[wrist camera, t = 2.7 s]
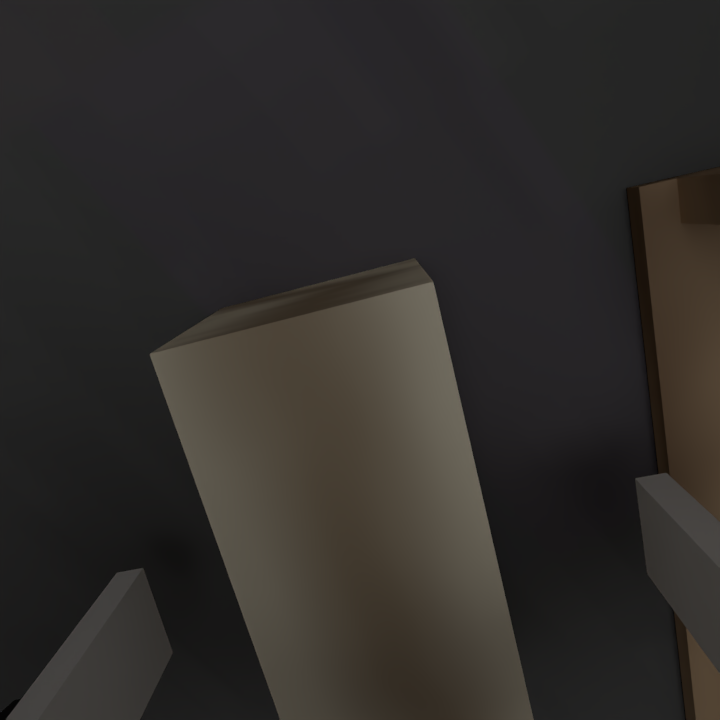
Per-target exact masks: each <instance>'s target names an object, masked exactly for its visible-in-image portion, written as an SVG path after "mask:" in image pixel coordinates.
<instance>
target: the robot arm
mask: <svg viewBox="0 0 720 720" xmlns="http://www.w3.org/2000/svg"><path fill="white" fill-rule="evenodd" d="M635 483H636V491H637V499H638V506H639V514H640V522H641V530H642V538H643V545H644V553H645V561H646V569H647V574H648V576H649V577H650V578H651V580H652V581H653V583H654V584H655V585H656V587H657V588H658V589H659V591H660V592H661V594H662V595H663V596H664V598H665V599H666V600H667V602H668V603H669V605H670V606H671V607H672V609H673V610H674V611H675V613H676V614H677V616H678V617H679V618H680V620H681V621H682V622H683V624H684V625H685V627H686V628H687V629H688V631H689V632H690V633H691V635H692V636H693V638H694V639H695V640H696V642H697V643H698V644H699V646H700V647H701V649H702V650H703V651H704V653H705V654H706V655H707V657H708V658H709V660H710V661H711V662H712V664H713V665H714V666H715V668H716V669H717V671H718V672H719V673H720V522H719V521H718V520H717V519H716V518H715V517H714V516H713V515H712V514H711V513H710V512H708V511H707V510H706V509H705V508H704V507H703V506H702V505H701V504H700V503H699V502H698V501H696V500H695V499H694V498H693V497H692V496H691V495H690V494H689V493H688V492H687V491H686V490H685V489H683V488H682V487H681V486H680V485H679V484H678V483H677V482H676V481H675V480H674V479H673V478H671V477H670V476H669V475H668V474H667V473H662V474H656V475H651V476H645V477H640V478H635ZM172 653H173V652H172V649H171V646H170V643H169V640H168V637H167V634H166V632H165V629H164V626H163V623H162V620H161V617H160V615H159V612H158V609H157V606H156V603H155V600H154V598H153V595H152V592H151V589H150V586H149V583H148V580H147V578H146V575H145V572H144V569H143V568H140V569H134V570H129V571H123V572H118V573H116V574H115V576H114V577H113V578H112V580H111V581H110V582H109V584H108V585H107V586H106V588H105V589H104V590H103V592H102V593H101V594H100V596H99V597H98V598H97V600H96V601H95V602H94V603H93V605H92V606H91V607H90V609H89V610H88V611H87V613H86V614H85V615H84V617H83V618H82V619H81V621H80V622H79V623H78V625H77V626H76V627H75V629H74V630H73V631H72V633H71V634H70V635H69V637H68V638H67V639H66V640H65V642H64V643H63V644H62V646H61V647H60V648H59V650H58V651H57V652H56V654H55V655H54V656H53V658H52V659H51V660H50V662H49V663H48V664H47V666H46V667H45V668H44V670H43V671H42V672H41V674H40V675H39V676H38V677H37V679H36V680H35V681H34V683H33V684H32V685H31V687H30V688H29V689H28V691H27V692H26V693H25V695H24V696H23V697H22V699H19V700H14V701H13V702H12V703H11V704H10V705H9V706H8V707H6V708H5V709H4V710H3V711H2V712H1V713H0V720H140V719H141V717H142V715H143V713H144V711H145V709H146V707H147V704H148V702H149V700H150V698H151V696H152V694H153V692H154V690H155V688H156V686H157V684H158V682H159V680H160V678H161V676H162V674H163V672H164V670H165V668H166V666H167V664H168V662H169V660H170V658H171V655H172Z"/></svg>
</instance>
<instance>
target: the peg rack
mask: <svg viewBox="0 0 720 720" xmlns="http://www.w3.org/2000/svg"><path fill="white" fill-rule="evenodd" d="M627 196H628V205H629V214H630V223H631V232H632V240H633V249H634V258H635V267H636V276H637V285H638V294H639V303H640V312H641V321H642V330H643V339H644V348H645V357H646V366H647V375H648V384H649V393H650V402H651V411H652V420H653V429H654V437H655V446H656V455H657V464H658V473H659V474H662V473H667V474H668V475H669V476H670V477H671V478H673V479H674V480H675V481H676V482H677V483H678V484H679V485H680V486H681V487H682V488H683V489H685V490H686V491H687V492H688V493H689V494H690V495H691V496H692V497H693V498H694V499H695V500H696V501H698V502H699V503H700V504H701V505H702V506H703V507H704V508H705V509H706V510H707V511H708V512H710V513H711V514H712V515H713V516H714V517H715V518H716V519H717V520H718V521H719V522H720V167H716V168H712V169H707V170H703V171H699V172H694V173H690V174H686V175H681V176H677V177H673V178H668V179H664V180H660V181H655V182H651V183H647V184H642V185H638V186H633V187H629V188H627ZM674 617H675V626H676V635H677V643H678V652H679V661H680V670H681V679H682V688H683V697H684V706H685V715H686V720H720V673H719V672H718V671H717V669H716V668H715V666H714V665H713V664H712V662H711V661H710V660H709V658H708V657H707V655H706V654H705V653H704V651H703V650H702V649H701V647H700V646H699V644H698V643H697V642H696V640H695V639H694V638H693V636H692V635H691V633H690V632H689V631H688V629H687V628H686V627H685V625H684V624H683V622H682V621H681V620H680V618H679V617H678V616H677V614H676V613H675V611H674Z"/></svg>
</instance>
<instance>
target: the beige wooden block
mask: <svg viewBox="0 0 720 720" xmlns="http://www.w3.org/2000/svg"><path fill="white" fill-rule="evenodd" d="M150 357H151V360H152V362H153V365H154V368H155V371H156V374H157V376H158V379H159V382H160V385H161V388H162V390H163V393H164V396H165V399H166V402H167V404H168V407H169V410H170V413H171V416H172V418H173V421H174V424H175V427H176V430H177V432H178V435H179V438H180V441H181V444H182V446H183V449H184V452H185V455H186V458H187V460H188V463H189V466H190V469H191V472H192V474H193V477H194V480H195V483H196V486H197V488H198V491H199V494H200V497H201V500H202V502H203V505H204V508H205V511H206V514H207V516H208V519H209V522H210V525H211V528H212V530H213V533H214V536H215V539H216V542H217V544H218V547H219V550H220V553H221V556H222V558H223V561H224V564H225V567H226V570H227V572H228V575H229V578H230V581H231V584H232V586H233V589H234V592H235V595H236V598H237V600H238V603H239V606H240V609H241V612H242V614H243V617H244V620H245V623H246V626H247V628H248V631H249V634H250V637H251V640H252V642H253V645H254V648H255V651H256V654H257V656H258V659H259V662H260V665H261V668H262V670H263V673H264V676H265V679H266V682H267V684H268V687H269V690H270V693H271V695H272V698H273V701H274V704H275V707H276V709H277V712H278V715H279V718H280V720H534V719H533V715H532V710H531V706H530V702H529V697H528V693H527V689H526V684H525V680H524V676H523V671H522V667H521V662H520V658H519V654H518V649H517V645H516V641H515V636H514V632H513V628H512V623H511V619H510V615H509V610H508V606H507V601H506V597H505V593H504V588H503V584H502V580H501V575H500V571H499V567H498V562H497V558H496V553H495V549H494V545H493V540H492V536H491V532H490V527H489V523H488V519H487V514H486V510H485V505H484V501H483V497H482V492H481V488H480V484H479V479H478V475H477V471H476V466H475V462H474V457H473V453H472V449H471V444H470V440H469V436H468V431H467V427H466V423H465V418H464V414H463V409H462V405H461V401H460V396H459V392H458V388H457V383H456V379H455V375H454V370H453V366H452V361H451V357H450V353H449V348H448V344H447V340H446V335H445V331H444V327H443V322H442V318H441V313H440V309H439V305H438V300H437V296H436V292H435V287H434V283H433V281H432V280H431V278H430V277H429V276H428V275H427V273H426V272H425V271H424V270H423V268H422V267H421V266H420V265H419V263H418V262H417V261H416V259H415V258H414V259H410V260H406V261H403V262H399V263H395V264H391V265H387V266H383V267H379V268H376V269H372V270H368V271H364V272H360V273H356V274H352V275H349V276H345V277H341V278H337V279H333V280H329V281H325V282H322V283H318V284H314V285H310V286H306V287H302V288H298V289H295V290H291V291H287V292H283V293H279V294H275V295H271V296H268V297H264V298H260V299H256V300H252V301H248V302H244V303H241V304H237V305H233V306H229V307H225V308H221V309H220V310H218V311H217V312H215V313H213V314H212V315H210V316H209V317H207V318H206V319H204V320H202V321H201V322H199V323H198V324H196V325H195V326H193V327H191V328H190V329H188V330H187V331H185V332H183V333H182V334H180V335H179V336H177V337H176V338H174V339H172V340H171V341H169V342H168V343H166V344H164V345H163V346H161V347H160V348H158V349H157V350H155V351H153V352H152V353H150Z"/></svg>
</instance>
